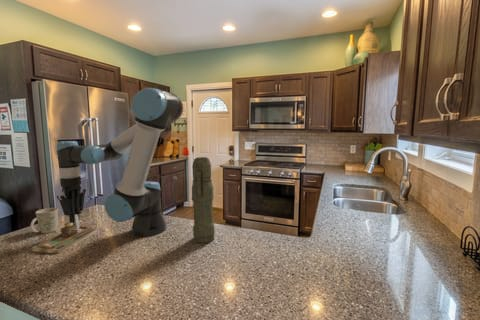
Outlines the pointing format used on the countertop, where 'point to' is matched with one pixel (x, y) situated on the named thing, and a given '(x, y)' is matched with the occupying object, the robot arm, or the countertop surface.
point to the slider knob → (69, 230)
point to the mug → (46, 220)
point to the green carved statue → (202, 201)
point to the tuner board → (64, 241)
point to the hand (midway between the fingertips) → (75, 228)
